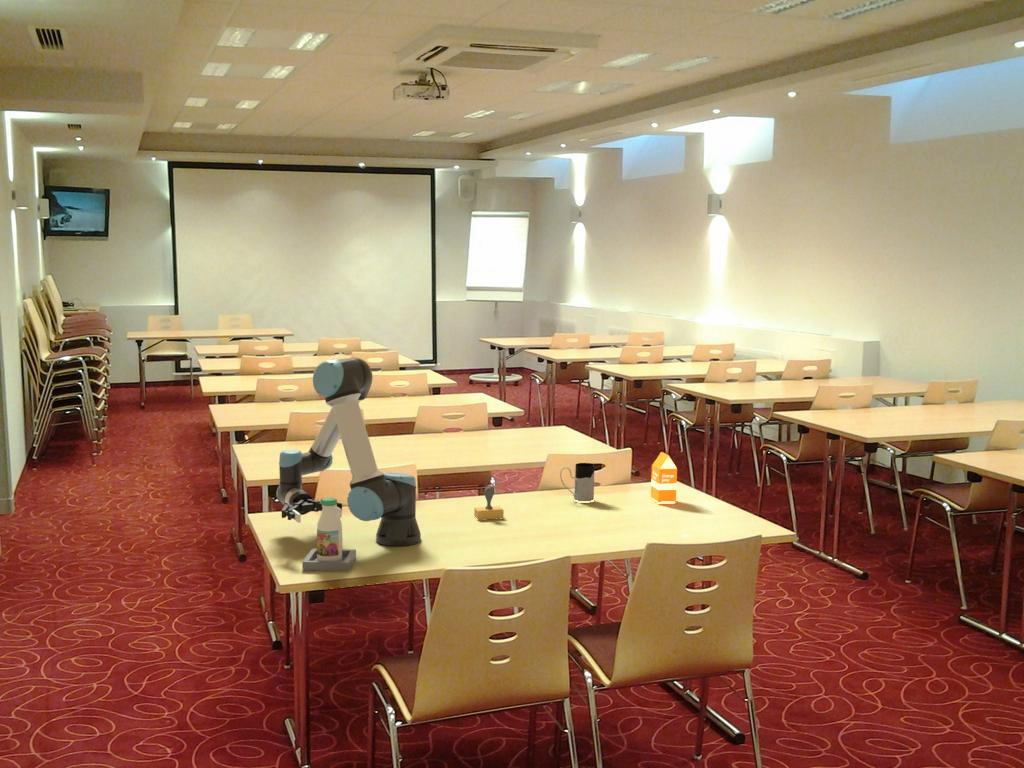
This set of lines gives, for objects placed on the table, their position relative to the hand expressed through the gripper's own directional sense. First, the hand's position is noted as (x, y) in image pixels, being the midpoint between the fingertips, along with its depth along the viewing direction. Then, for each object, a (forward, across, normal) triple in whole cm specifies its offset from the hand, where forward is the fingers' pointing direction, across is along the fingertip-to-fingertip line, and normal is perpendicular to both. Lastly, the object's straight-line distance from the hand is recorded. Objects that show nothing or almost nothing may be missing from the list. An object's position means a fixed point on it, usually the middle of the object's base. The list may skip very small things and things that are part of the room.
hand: (320, 516), depth 304 cm
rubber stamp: (-19, -72, -14) cm, 75 cm away
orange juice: (-9, -147, -14) cm, 148 cm away
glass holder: (-26, -116, -14) cm, 120 cm away
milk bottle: (+9, 0, -13) cm, 15 cm away
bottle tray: (+9, 0, -13) cm, 16 cm away
